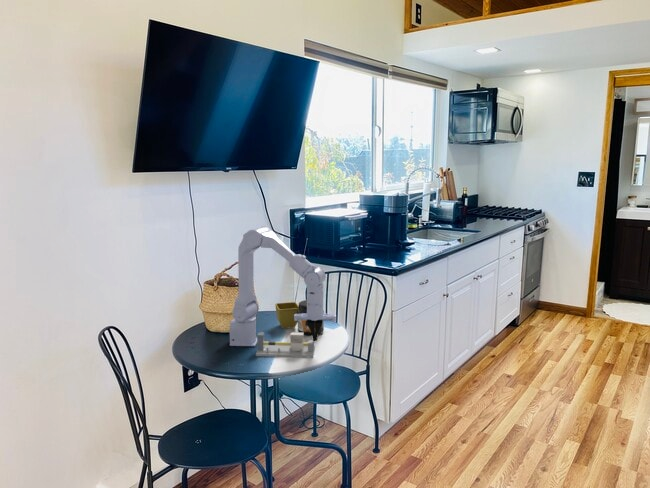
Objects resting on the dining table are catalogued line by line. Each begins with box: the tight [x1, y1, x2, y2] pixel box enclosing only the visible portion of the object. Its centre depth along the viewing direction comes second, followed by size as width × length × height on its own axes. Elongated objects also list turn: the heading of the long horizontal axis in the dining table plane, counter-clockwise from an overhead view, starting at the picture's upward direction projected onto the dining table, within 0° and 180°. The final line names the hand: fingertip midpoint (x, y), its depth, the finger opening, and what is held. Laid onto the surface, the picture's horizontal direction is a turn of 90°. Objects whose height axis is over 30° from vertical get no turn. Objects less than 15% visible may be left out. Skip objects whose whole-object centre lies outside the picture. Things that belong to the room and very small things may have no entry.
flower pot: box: [275, 301, 299, 329], centre depth 201 cm, size 9×9×9 cm
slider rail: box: [255, 331, 316, 358], centre depth 175 cm, size 20×9×6 cm, turn 87°
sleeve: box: [289, 331, 305, 351], centre depth 174 cm, size 4×3×6 cm
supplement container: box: [297, 299, 325, 337], centre depth 194 cm, size 10×10×12 cm
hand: (315, 340), depth 174 cm, fingers closed
